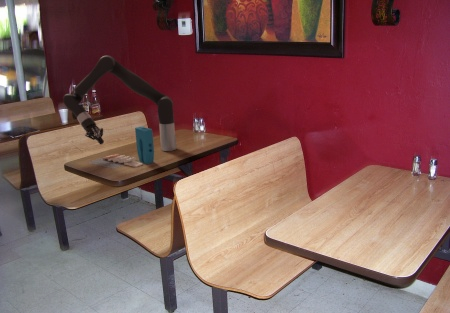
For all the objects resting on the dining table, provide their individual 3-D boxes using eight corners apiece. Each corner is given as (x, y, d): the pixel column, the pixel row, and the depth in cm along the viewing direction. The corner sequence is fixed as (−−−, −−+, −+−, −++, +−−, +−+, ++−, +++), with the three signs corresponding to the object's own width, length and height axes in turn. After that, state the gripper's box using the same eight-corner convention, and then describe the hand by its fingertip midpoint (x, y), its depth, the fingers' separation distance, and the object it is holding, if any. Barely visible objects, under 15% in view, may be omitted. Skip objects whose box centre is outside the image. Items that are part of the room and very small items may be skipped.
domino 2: (112, 160, 269) (124, 158, 263) (119, 157, 273) (130, 155, 266) (113, 162, 269) (124, 160, 263) (119, 159, 273) (131, 157, 267)
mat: (86, 163, 269) (86, 162, 269) (106, 156, 281) (106, 156, 281) (114, 169, 257) (114, 168, 257) (133, 162, 269) (133, 161, 268)
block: (155, 163, 265) (152, 129, 259) (148, 165, 262) (145, 131, 256) (144, 159, 274) (142, 126, 268) (137, 160, 271) (134, 127, 265)
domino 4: (123, 162, 264) (136, 165, 258) (130, 160, 268) (142, 163, 262) (124, 164, 264) (136, 167, 259) (130, 161, 268) (142, 165, 263)
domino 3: (118, 161, 266) (129, 159, 260) (124, 158, 270) (136, 156, 264) (118, 163, 266) (130, 161, 260) (125, 160, 270) (136, 158, 264)
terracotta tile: (102, 157, 274) (113, 155, 267) (108, 155, 277) (119, 153, 271) (102, 159, 274) (113, 157, 268) (109, 157, 278) (120, 155, 272)
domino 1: (107, 159, 271) (118, 156, 265) (114, 156, 275) (124, 154, 269) (108, 161, 271) (119, 158, 265) (114, 158, 275) (125, 156, 269)
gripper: (79, 119, 269) (96, 142, 265) (97, 115, 279) (113, 137, 276) (74, 127, 273) (91, 149, 270) (92, 122, 283) (108, 144, 280)
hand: (102, 143), depth 273 cm, fingers closed
